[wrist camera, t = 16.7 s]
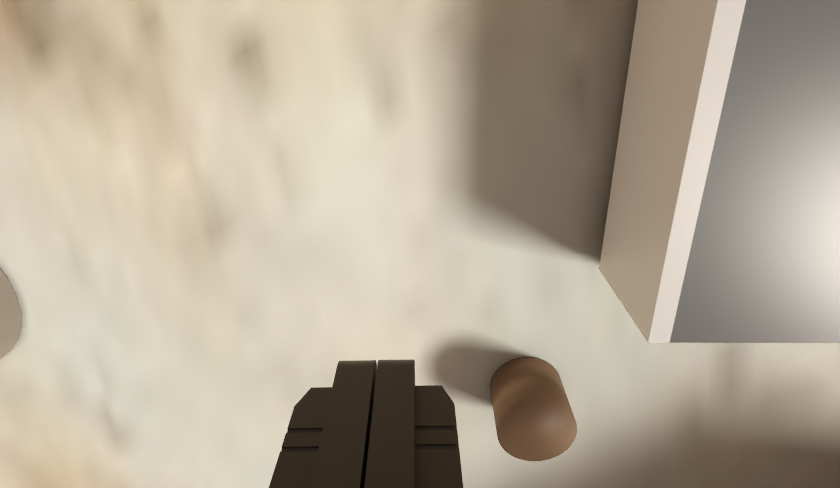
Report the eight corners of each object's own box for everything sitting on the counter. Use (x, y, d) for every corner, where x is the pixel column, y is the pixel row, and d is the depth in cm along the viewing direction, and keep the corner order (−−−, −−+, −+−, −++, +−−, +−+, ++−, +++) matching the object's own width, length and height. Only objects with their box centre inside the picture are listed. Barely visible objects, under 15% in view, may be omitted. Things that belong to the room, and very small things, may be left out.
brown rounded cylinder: (488, 413, 30) (495, 460, 27) (491, 357, 28) (499, 400, 25) (557, 413, 30) (572, 461, 27) (564, 357, 28) (581, 401, 25)
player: (614, 268, 26) (668, 342, 20) (665, -47, 20) (760, -74, 14) (855, 268, 26) (981, 343, 20) (976, -53, 20) (1204, -82, 14)
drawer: (598, 269, 25) (647, 342, 19) (643, -37, 20) (730, -59, 14) (785, 268, 25) (890, 343, 19) (882, -41, 19) (1069, -65, 14)
